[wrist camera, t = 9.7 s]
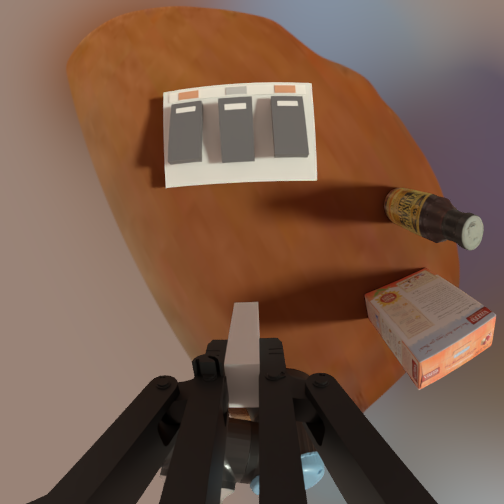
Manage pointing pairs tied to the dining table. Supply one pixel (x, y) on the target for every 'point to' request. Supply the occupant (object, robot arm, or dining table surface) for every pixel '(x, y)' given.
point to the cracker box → (429, 324)
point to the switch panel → (264, 162)
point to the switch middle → (236, 129)
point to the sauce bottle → (433, 217)
